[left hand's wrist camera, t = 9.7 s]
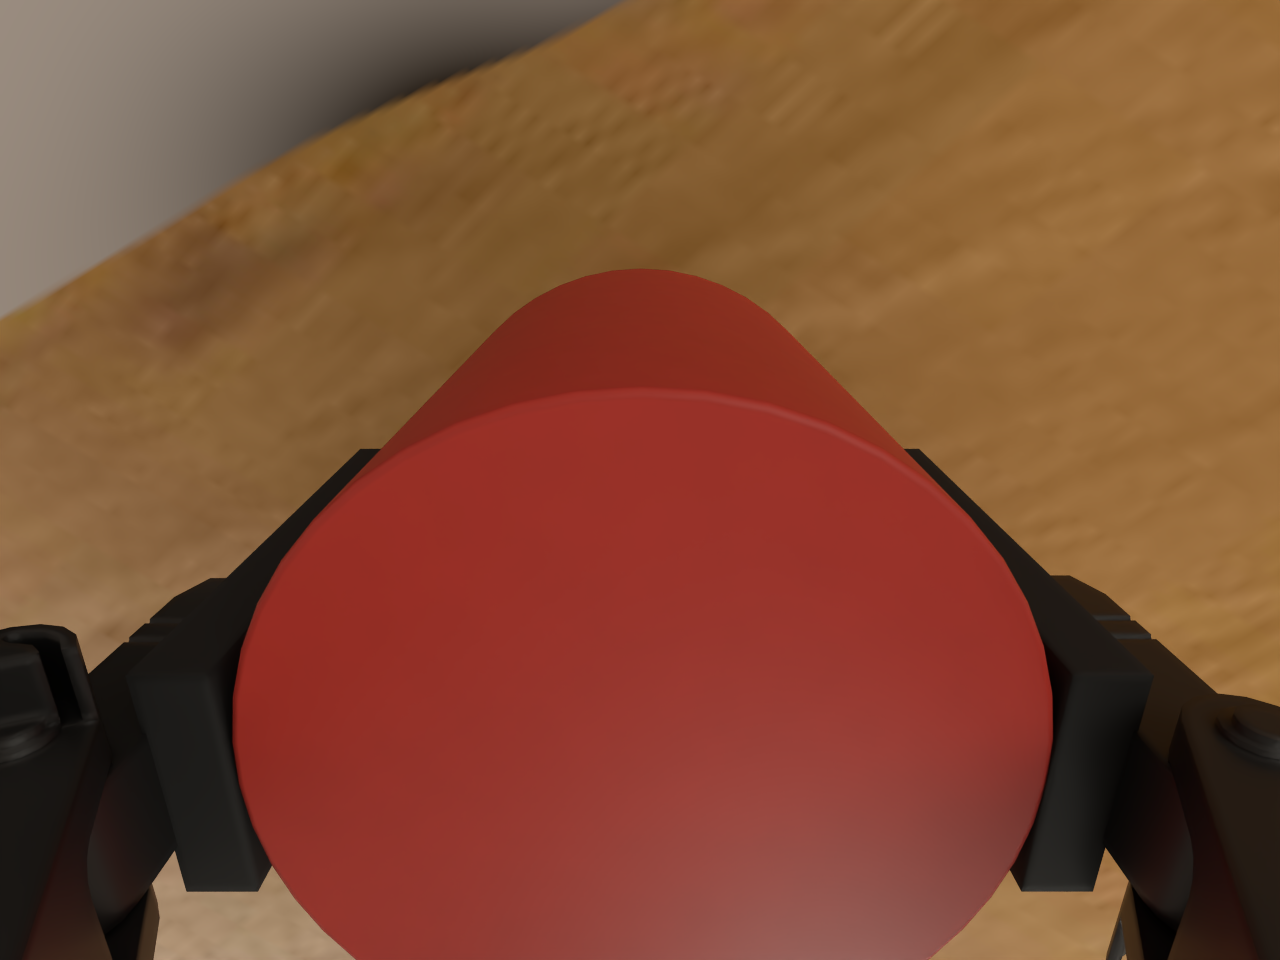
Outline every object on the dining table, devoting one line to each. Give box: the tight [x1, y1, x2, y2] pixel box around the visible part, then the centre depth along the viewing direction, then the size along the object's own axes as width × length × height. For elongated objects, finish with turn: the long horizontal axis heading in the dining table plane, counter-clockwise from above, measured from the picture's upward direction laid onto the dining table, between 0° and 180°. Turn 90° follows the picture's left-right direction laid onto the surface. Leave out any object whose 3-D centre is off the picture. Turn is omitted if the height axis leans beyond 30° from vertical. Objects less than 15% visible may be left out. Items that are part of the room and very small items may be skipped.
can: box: [233, 269, 1053, 960], centre depth 12 cm, size 8×8×9 cm
